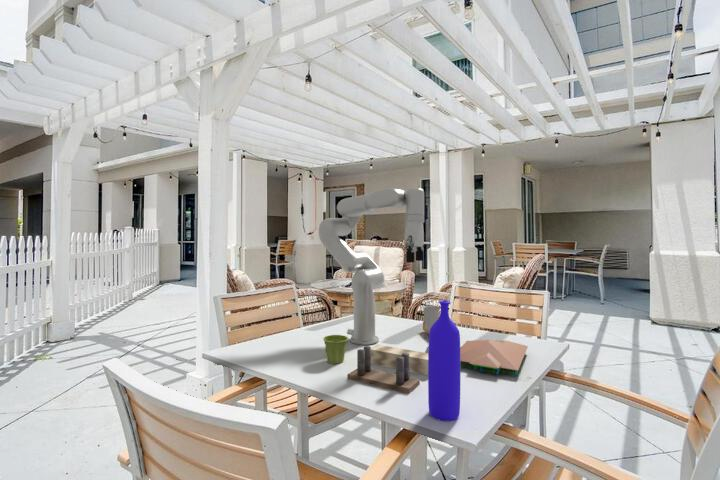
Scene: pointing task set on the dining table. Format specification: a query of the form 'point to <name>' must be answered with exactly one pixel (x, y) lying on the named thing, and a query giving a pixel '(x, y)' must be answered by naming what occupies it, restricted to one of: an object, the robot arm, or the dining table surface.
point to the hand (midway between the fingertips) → (415, 261)
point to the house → (493, 354)
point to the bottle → (444, 367)
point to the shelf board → (389, 354)
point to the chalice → (430, 317)
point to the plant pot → (335, 348)
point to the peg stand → (384, 373)
